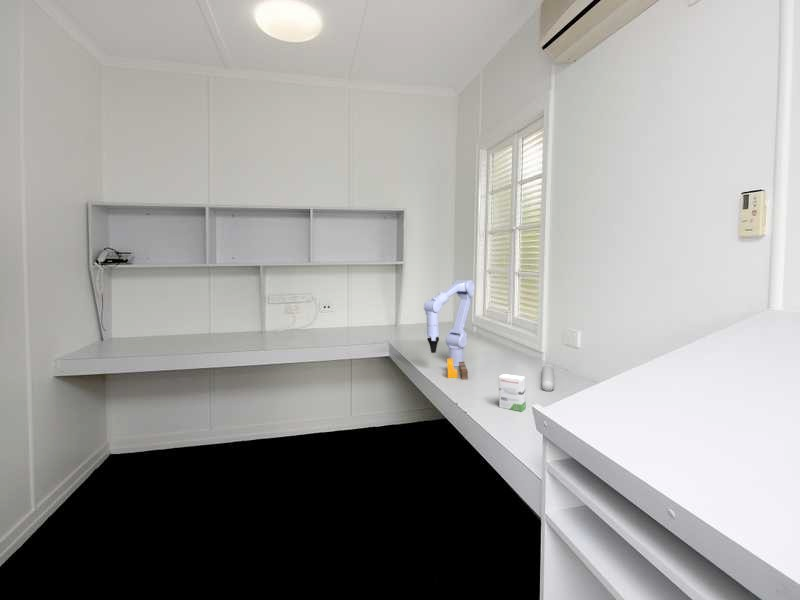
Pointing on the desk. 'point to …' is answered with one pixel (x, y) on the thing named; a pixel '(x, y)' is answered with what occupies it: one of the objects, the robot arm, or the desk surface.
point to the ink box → (512, 392)
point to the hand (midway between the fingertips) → (433, 352)
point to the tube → (547, 377)
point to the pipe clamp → (451, 369)
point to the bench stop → (463, 370)
